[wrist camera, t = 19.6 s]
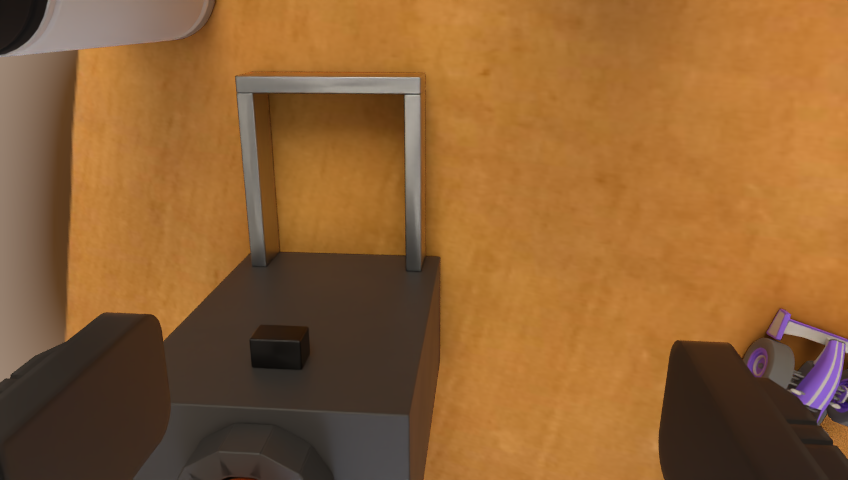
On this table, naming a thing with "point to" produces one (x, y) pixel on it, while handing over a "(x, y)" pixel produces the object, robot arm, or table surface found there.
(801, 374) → the toy race car
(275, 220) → the frame
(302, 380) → the coffee maker
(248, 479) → the button
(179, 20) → the travel mug
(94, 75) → the table surface
